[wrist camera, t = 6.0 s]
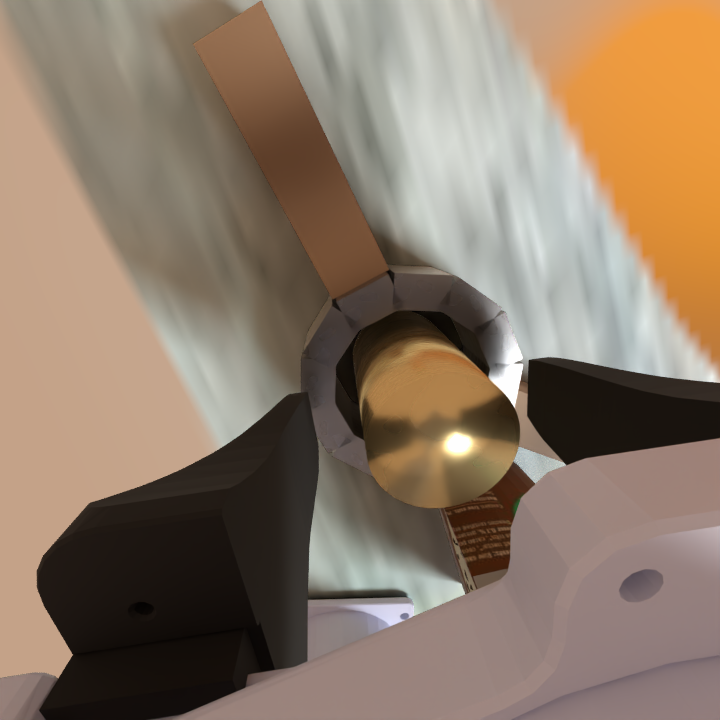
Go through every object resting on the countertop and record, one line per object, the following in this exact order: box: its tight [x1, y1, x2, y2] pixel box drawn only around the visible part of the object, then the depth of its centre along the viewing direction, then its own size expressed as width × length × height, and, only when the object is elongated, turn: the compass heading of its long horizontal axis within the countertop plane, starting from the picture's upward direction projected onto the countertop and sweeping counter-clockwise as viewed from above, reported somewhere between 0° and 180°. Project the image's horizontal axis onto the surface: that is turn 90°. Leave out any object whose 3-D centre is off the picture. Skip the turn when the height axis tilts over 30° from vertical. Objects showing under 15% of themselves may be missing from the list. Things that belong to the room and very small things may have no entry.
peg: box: [353, 311, 520, 508], centre depth 13 cm, size 4×4×7 cm
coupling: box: [193, 0, 563, 477], centre depth 14 cm, size 15×16×3 cm
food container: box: [439, 462, 535, 594], centre depth 14 cm, size 12×6×10 cm, turn 18°
